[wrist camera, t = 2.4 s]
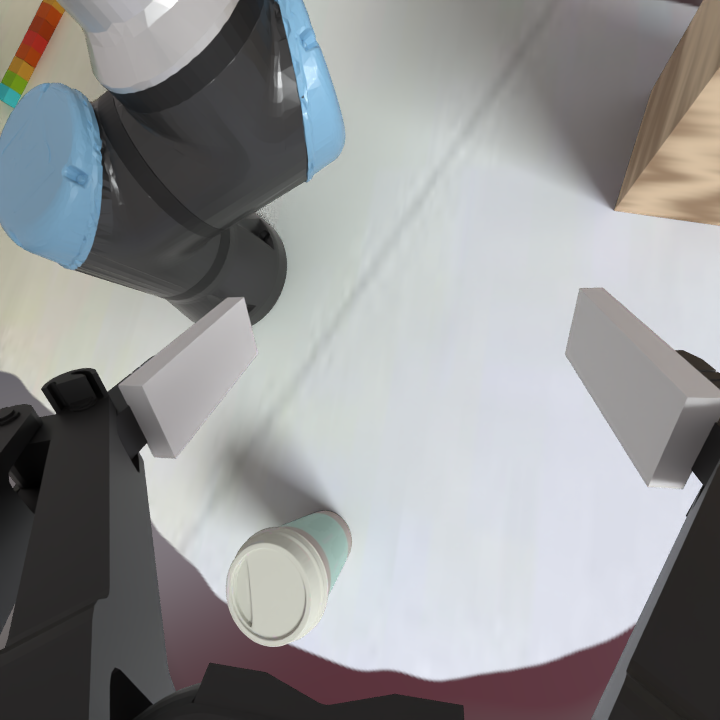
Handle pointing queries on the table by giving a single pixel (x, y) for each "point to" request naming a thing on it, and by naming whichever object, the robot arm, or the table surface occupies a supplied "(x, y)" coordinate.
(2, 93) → the chart
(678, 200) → the oak stand
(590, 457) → the table surface
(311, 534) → the coffee cup
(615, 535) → the table surface
